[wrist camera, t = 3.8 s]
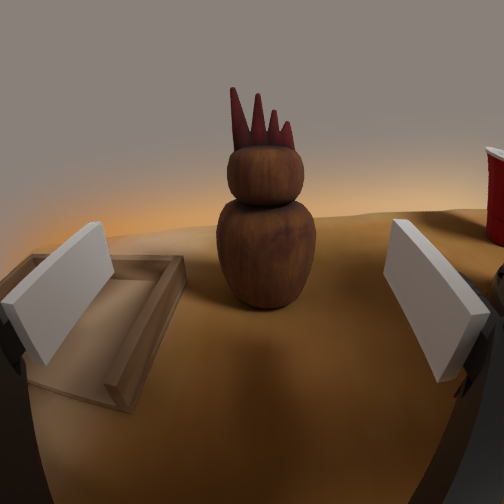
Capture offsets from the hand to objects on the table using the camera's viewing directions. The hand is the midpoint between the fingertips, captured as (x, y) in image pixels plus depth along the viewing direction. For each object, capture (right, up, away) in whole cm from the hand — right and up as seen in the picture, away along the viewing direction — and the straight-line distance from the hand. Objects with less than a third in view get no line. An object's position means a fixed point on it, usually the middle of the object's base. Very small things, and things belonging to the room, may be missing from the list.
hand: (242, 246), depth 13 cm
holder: (-14, -6, +7) cm, 17 cm away
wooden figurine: (+2, -4, +10) cm, 11 cm away
